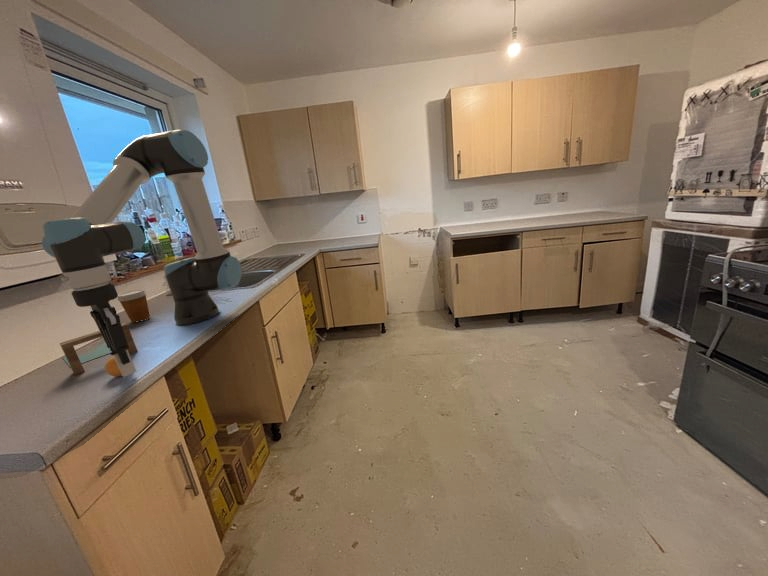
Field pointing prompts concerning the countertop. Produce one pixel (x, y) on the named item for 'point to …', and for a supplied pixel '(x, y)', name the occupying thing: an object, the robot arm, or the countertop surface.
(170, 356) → the countertop surface
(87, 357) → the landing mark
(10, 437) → the countertop surface
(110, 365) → the ball
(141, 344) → the countertop surface
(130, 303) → the disposable coffee cup
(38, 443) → the countertop surface
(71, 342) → the bridge
